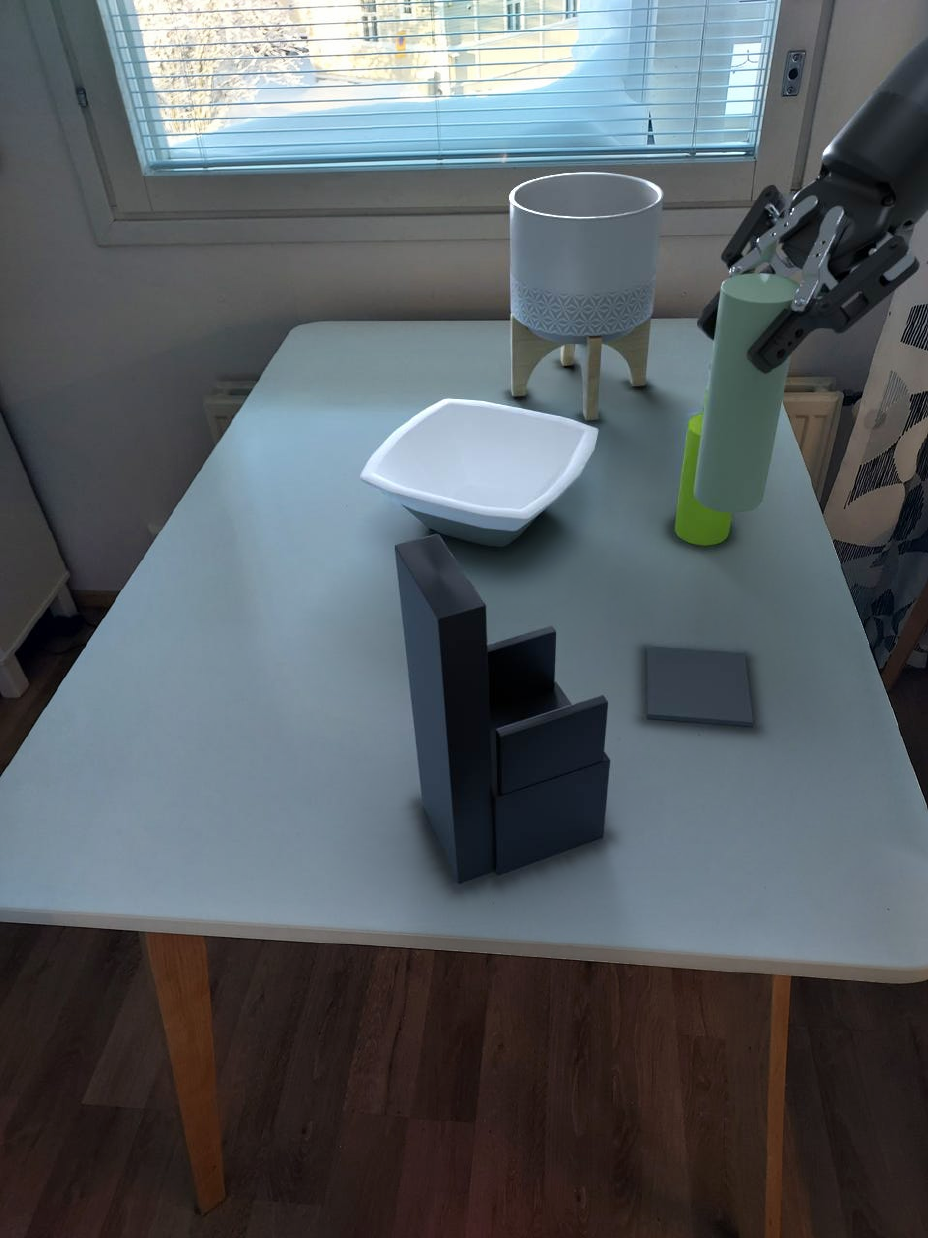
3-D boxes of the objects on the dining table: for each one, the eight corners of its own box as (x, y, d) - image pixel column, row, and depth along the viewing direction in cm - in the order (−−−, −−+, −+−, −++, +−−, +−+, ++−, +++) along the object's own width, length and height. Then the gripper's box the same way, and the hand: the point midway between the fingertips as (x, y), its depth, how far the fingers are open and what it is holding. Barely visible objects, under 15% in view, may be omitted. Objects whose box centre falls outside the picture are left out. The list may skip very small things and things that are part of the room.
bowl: (536, 595, 96) (537, 527, 90) (349, 543, 104) (340, 478, 99) (611, 489, 110) (616, 426, 105) (442, 451, 119) (438, 390, 114)
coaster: (752, 726, 81) (753, 722, 80) (647, 718, 82) (647, 714, 81) (744, 657, 87) (744, 652, 87) (646, 650, 89) (647, 646, 88)
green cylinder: (766, 515, 69) (808, 302, 59) (694, 511, 70) (724, 301, 59) (759, 478, 73) (798, 273, 62) (692, 475, 73) (718, 272, 63)
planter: (503, 365, 138) (500, 178, 121) (628, 355, 139) (642, 167, 122) (521, 426, 123) (521, 223, 107) (661, 414, 124) (682, 210, 108)
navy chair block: (553, 756, 79) (561, 497, 62) (603, 837, 72) (627, 570, 56) (420, 801, 76) (391, 540, 59) (460, 889, 69) (440, 624, 53)
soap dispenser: (727, 554, 100) (757, 381, 87) (666, 536, 103) (687, 366, 90) (745, 526, 104) (776, 357, 91) (686, 510, 106) (708, 343, 94)
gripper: (1029, 197, 55) (822, 421, 60) (866, 145, 66) (699, 340, 70) (988, 109, 51) (766, 360, 55) (818, 68, 61) (644, 282, 66)
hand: (730, 347), depth 63 cm, fingers closed on green cylinder, 5 cm apart
